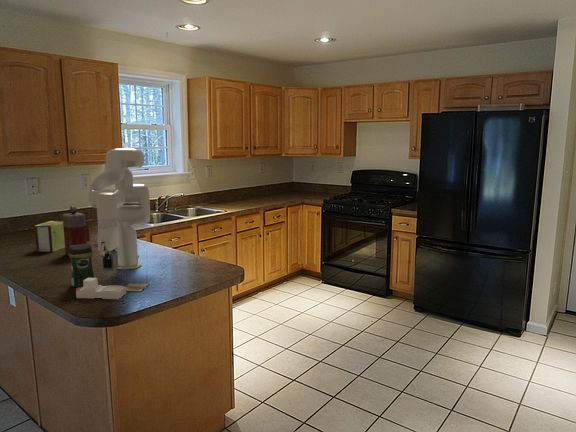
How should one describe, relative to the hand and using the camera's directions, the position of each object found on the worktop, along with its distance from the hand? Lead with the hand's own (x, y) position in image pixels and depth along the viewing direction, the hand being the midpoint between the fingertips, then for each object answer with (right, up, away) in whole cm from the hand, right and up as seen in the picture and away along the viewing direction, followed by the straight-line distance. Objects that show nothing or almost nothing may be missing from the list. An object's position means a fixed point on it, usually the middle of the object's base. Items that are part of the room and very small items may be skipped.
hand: (110, 265), depth 182 cm
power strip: (-5, -13, +2) cm, 14 cm away
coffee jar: (-19, -11, +16) cm, 27 cm away
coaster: (+6, -11, +11) cm, 17 cm away
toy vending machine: (-45, -1, +68) cm, 82 cm away
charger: (0, -1, 0) cm, 1 cm away
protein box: (-67, +1, +80) cm, 104 cm away
